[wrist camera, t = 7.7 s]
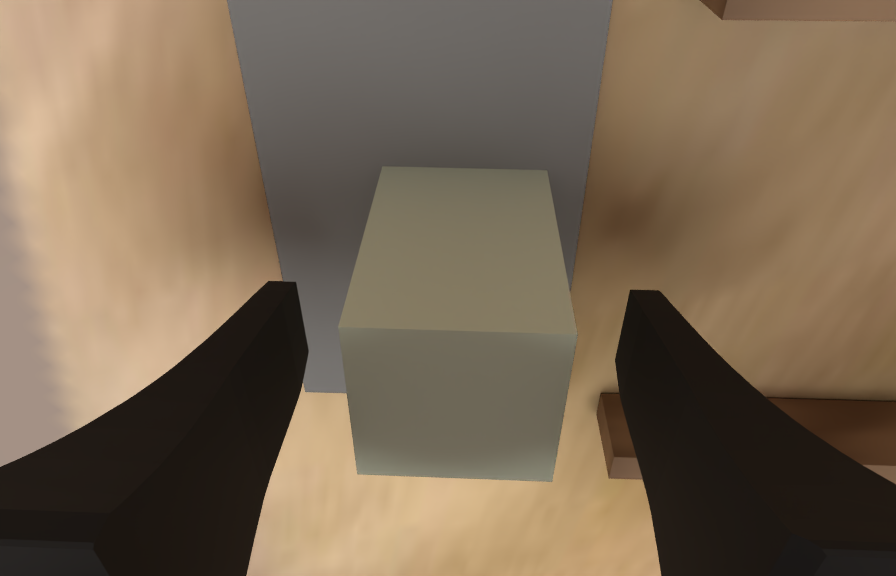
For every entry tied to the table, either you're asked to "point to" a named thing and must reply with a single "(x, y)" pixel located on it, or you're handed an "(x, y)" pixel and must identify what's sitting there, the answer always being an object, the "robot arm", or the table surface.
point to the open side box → (835, 421)
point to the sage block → (458, 327)
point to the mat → (407, 119)
